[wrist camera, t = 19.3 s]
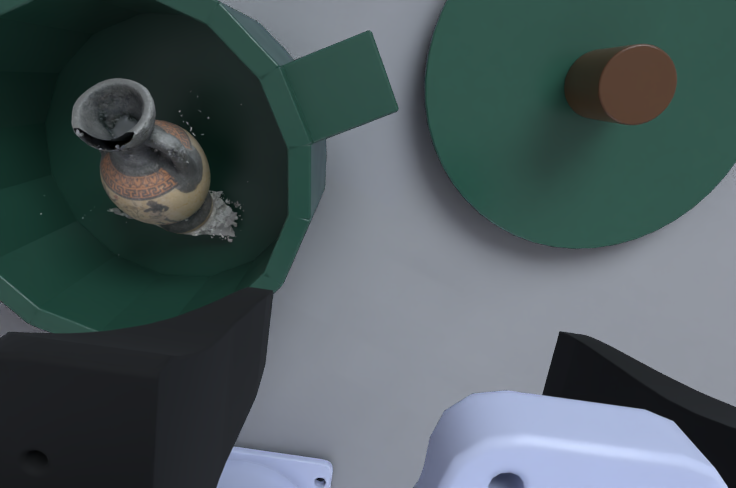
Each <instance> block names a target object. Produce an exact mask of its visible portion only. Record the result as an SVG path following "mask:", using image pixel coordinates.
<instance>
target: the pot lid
mask: <svg viewBox="0 0 736 488" xmlns="http://www.w3.org/2000/svg"><path fill="white" fill-rule="evenodd" d="M424 104H425V111H426V119H427V125H428V129H429V133H430V136H431V140H432V144H433V146H434V149H435V151H436V154H437V156H438V158H439V161H440V163H441V165H442V167H443V169H444V170H445V172H446V174H447V175H448V177H449V179H450V181H451V182H452V183H453V185H454V186H455V187H456V188H457V190H458V191H459V192H460V194H461V195H462V196H463V197H464V199H465V200H466V201H467V202H468V203H469V204H470V205H471V206H472V207H473V208H474V209H475V210H477V211H478V212H479V213H480V214H481V215H482V216H484V217H485V218H486V219H488V220H489V221H491V222H492V223H493V224H495V225H496V226H498V227H500V228H501V229H503V230H505V231H507V232H509V233H511V234H513V235H515V236H517V237H520V238H523V239H525V240H528V241H531V242H534V243H538V244H543V245H547V246H551V247H560V248H571V249H581V248H598V247H604V246H611V245H616V244H620V243H623V242H627V241H630V240H634V239H637V238H639V237H642V236H644V235H647V234H649V233H652V232H654V231H656V230H658V229H660V228H662V227H664V226H665V225H667V224H669V223H671V222H673V221H675V220H676V219H678V218H679V217H680V216H682V215H683V214H685V213H686V212H688V211H689V210H690V209H692V208H693V207H694V206H696V205H697V204H698V203H699V202H700V201H701V200H702V199H703V198H705V197H706V196H707V195H708V194H709V193H710V192H711V191H712V190H713V189H714V188H715V187H716V186H717V185H718V184H719V182H720V181H721V180H722V179H723V178H724V177H725V176H726V175H727V173H728V172H729V171H730V169H731V168H732V166H733V165H734V164H735V162H736V0H446V2H445V4H444V6H443V8H442V10H441V12H440V15H439V18H438V20H437V23H436V25H435V28H434V31H433V33H432V37H431V42H430V46H429V50H428V54H427V59H426V68H425V76H424Z"/></svg>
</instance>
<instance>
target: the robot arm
mask: <svg viewBox="0 0 736 488" xmlns="http://www.w3.org/2000/svg"><path fill="white" fill-rule="evenodd" d="M272 299H273V290H267V289H260V288H253V287H246V288H243V289H241V290H238V291H236V292H234V293H232V294H230V295H228V296H225V297H223V298H221V299H219V300H217V301H214V302H212V303H210V304H208V305H205V306H203V307H200V308H198V309H195V310H192V311H190V312H187V313H185V314H182V315H179V316H176V317H173V318H169V319H166V320H162V321H158V322H154V323H150V324H146V325H141V326H134V327H128V328H122V329H116V330H109V331H98V332H85V333H21V332H8V333H7V334H5V335H4V336H2V337H1V338H0V488H330V485H331V479H332V473H333V466H332V464H331V463H330V462H329V461H327V460H324V459H318V458H311V457H304V456H297V455H290V454H283V453H276V452H269V451H262V450H255V449H248V448H241V447H234V444H235V442H236V440H237V438H238V435H239V433H240V431H241V429H242V427H243V424H244V422H245V420H246V418H247V416H248V413H249V411H250V409H251V407H252V405H253V402H254V400H255V398H256V395H257V392H258V388H259V385H260V382H261V378H262V374H263V371H264V367H265V362H266V353H267V344H268V335H269V326H270V317H271V308H272ZM317 478H323V479H324V481H318V480H317ZM413 488H736V407H734V406H732V405H729V404H727V403H724V402H722V401H720V400H717V399H715V398H712V397H710V396H707V395H705V394H703V393H701V392H699V391H696V390H694V389H692V388H690V387H688V386H686V385H684V384H682V383H680V382H678V381H676V380H674V379H672V378H670V377H668V376H666V375H664V374H662V373H660V372H658V371H656V370H654V369H652V368H650V367H648V366H647V365H645V364H643V363H641V362H639V361H637V360H635V359H634V358H632V357H630V356H628V355H626V354H624V353H623V352H621V351H619V350H617V349H615V348H613V347H611V346H609V345H607V344H605V343H603V342H601V341H599V340H597V339H594V338H592V337H589V336H586V335H581V334H574V333H567V332H559V336H558V339H557V343H556V347H555V350H554V354H553V358H552V361H551V365H550V369H549V372H548V376H547V380H546V383H545V387H544V391H543V394H542V395H537V394H530V393H523V392H516V391H508V390H503V391H492V392H482V393H472V394H471V395H469V396H467V397H466V398H464V399H463V400H461V401H459V402H458V403H456V404H454V405H453V406H451V407H450V408H448V409H446V410H445V411H444V412H443V414H442V416H441V418H440V420H439V422H438V423H437V425H436V427H435V429H434V431H433V433H432V434H431V436H430V440H429V444H428V449H427V454H426V458H425V463H424V468H423V470H422V473H421V475H420V478H419V481H418V482H417V483H416V485H415V486H414V487H413Z"/></svg>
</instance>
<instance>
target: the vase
mask: <svg viewBox="0 0 736 488" xmlns="http://www.w3.org/2000/svg"><path fill="white" fill-rule="evenodd" d="M190 92H191V91H190ZM197 97H198V96H197ZM241 105H242V104H241ZM179 112H180V111H179ZM181 116H182V115H181ZM155 117H156V110H155V104H154V101H153V98H152V97H151V94H150V92H149V91H148V89H147V88H145V87H144V86H143V85H141V84H140V83H138V82H135V81H132V80H129V79H122V78H114V79H108V80H105V81H102V82H100V83H98V84H96V85H94V86H92V87H91V88H89V89H88V90H87V91H85V92H84V93H83V94H82V95H81V96H80V97H79V98H78V99H77V101H76V102H75V104H74V106H73V110H72V121H71V123H72V127H73V130H74V133H75V134H76V135H77V136H78V137H79V138H80V139H81V140H82V141H84V142H85V143H86V144H88V145H89V146H91V147H93V148H95V149H98V150H99V151H100V153H101V159H100V166H99V167H100V176H101V181H102V184H103V187H104V189H105V191H106V193H107V195H108V196H109V198H110V199H111V200H112V201H113V203H114V204H115V205H116V206H117V207H118V208H112V209H110V211H111V212H114V213H115V214H118V215H121V216H126V217H127V218H129V219H135V220H139V221H141V222H144V223H149V224H154V225H157V226H159V227H161V228H163V229H165V230H166V231H169V232H173V233H177V234H187V235H193V236H197V235H201V234H204V235H206V234H209V235H213V236H215V235H221V236H222V238H224V236H227V235H229V236H232V237H236V236H235V234H234V233H235V232H234V231H233V229H232V227H231V225H234V226H235V227H237V223H236V222H234V220H237V219H238V217H237V212H232V209H231V208H232V207H229V206H227V205H226V204H225V202H226V203H227V204H230V200H229V201H228V200H227V199H228V198H227V199H226V201H225V202H224V201H223V200H222V199H221V198H222V197H221V198H219V197H220V196H221V194H222V192H223V191H219V192H214V191H209V187H210V168H209V164H208V161H207V158H206V155H205V153H204V151H203V149H202V147H201V146H200V144H199V143H198V142H197V140H196V139H195V138H194V137H193V136H192V135H191V134H190V133H189V132H188V131H186V130H185V129H183V128H181V127H180V126H178V125H176V124H173V123H170V122H167V121H162V120H156V119H155ZM208 119H209V117H208ZM183 122H184V121H183ZM186 123H187V122H186ZM187 124H188V123H187ZM191 130H192V127H191ZM191 130H190V131H191ZM193 134H194V133H193ZM201 135H202V134H201ZM203 135H204V134H203ZM194 136H195V135H194ZM247 182H248V181H247ZM210 192H212V193H210ZM223 194H224V193H223ZM44 196H45V195H44ZM223 199H224V198H223ZM231 203H233V202H231ZM234 205H235V207H236V208H237V207H238V206H240V205H241V204H238V201H237V204H236V203H234ZM119 209H120V210H122V211H123V212H124V213H123V212H122V213H121V211H120V210H119ZM240 209H241V206H240ZM107 211H109V210H107ZM243 211H244V210H243ZM84 216H85V215H84ZM239 216H241V215H239ZM82 218H83V217H82ZM241 220H242V219H241ZM126 223H127V222H126ZM240 231H241V230H240ZM229 236H227V238H228V241H229V242H232V240H233V239H229ZM211 238H213V237H211ZM219 238H221V237H219ZM225 239H226V237H225ZM222 240H223V239H222ZM118 255H119V254H118Z"/></svg>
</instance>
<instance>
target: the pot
mask: <svg viewBox="0 0 736 488" xmlns="http://www.w3.org/2000/svg"><path fill="white" fill-rule="evenodd" d="M114 78H122V79H129V80H132V81H135V82H138V83H140V84H141V85H143V86H144V87H145V88H147V89H148V91H149V92H150V94H151V97H152V98H153V101H154V104H155V110H156V117H155V119H156V120H162V121H167V122H170V123H173V124H176V125H178V126H180V127H181V128H183V129H185V130H186V131H188V132H189V133H190V134H191V135H192V136H193V137H194V138H195V139H196V140H197V142H198V143H199V144H200V146H201V147H202V149H203V151H204V153H205V155H206V158H207V161H208V164H209V168H210V187H209V191H214V192H219V191H223V192H222V194H221V196H220V197H219V198H221V197H222V198H221V199H222V200H223V201H224V202H225V201H226V199H227V198H228V199H227V200H228V201H229V200H230V204H227V203H226V202H225V204H226V205H227V206H229V207H232V208H231V209H232V212H237V217H238V219H237V220H234V222H236V223H237V227H235V226H234V225H231V227H232V229H233V231H234V232H235V233H234V234H235V236H236V237H232V236H229V235H227V236H229V239H233V240H232V242H229V241H228V238H227V236H224V238H222V236H221V235H215V236H213V235H209V234H206V235H204V234H201V235H197V236H193V235H187V234H177V233H173V232H169V231H166V230H165V229H163V228H161V227H159V226H157V225H154V224H149V223H144V222H141V221H139V220H135V219H129V218H127V217H126V216H121V215H118V214H115V213H114V212H111V211H110V209H112V208H118V207H117V206H116V205H115V204H114V203H113V201H112V200H111V199H110V198H109V196H108V195H107V193H106V191H105V189H104V187H103V184H102V181H101V176H100V167H99V166H100V159H101V153H100V151H99V150H98V149H95V148H93V147H91V146H89V145H88V144H86V143H85V142H84V141H82V140H81V139H80V138H79V137H78V136H77V135H76V134H75V133H74V130H73V127H72V123H71V121H72V110H73V106H74V104H75V102H76V101H77V99H78V98H79V97H80V96H81V95H82V94H83V93H84V92H85V91H87V90H88V89H89V88H91V87H92V86H94V85H96V84H98V83H100V82H102V81H105V80H108V79H114ZM190 91H191V92H190ZM197 96H198V97H197ZM241 104H242V105H241ZM179 111H180V112H179ZM397 111H398V105H397V103H396V100H395V97H394V94H393V91H392V88H391V85H390V83H389V80H388V77H387V74H386V71H385V68H384V65H383V63H382V60H381V57H380V54H379V51H378V48H377V46H376V43H375V40H374V37H373V34H372V32H371V31H366V32H363V33H361V34H358V35H356V36H353V37H351V38H348V39H346V40H343V41H341V42H338V43H336V44H333V45H331V46H328V47H326V48H323V49H321V50H318V51H316V52H313V53H311V54H309V55H306V56H304V57H301V58H299V59H296V60H293V58H292V57H291V56H290V55H289V54H288V52H287V51H286V50H285V49H284V48H283V46H281V45H280V44H279V43H278V42H277V41H276V40H275V39H274V38H273V37H272V36H271V35H270V34H269V32H268V31H267V30H266V29H265V28H264V27H263V26H262V25H261V24H260V23H258V22H257V21H256V20H254V19H252V18H250V17H248V16H246V15H244V14H242V13H241V12H239V11H237V10H235V9H233V8H231V7H229V6H227V5H225V4H223V3H221V2H220V1H218V0H0V301H1V302H3V303H4V304H5V305H6V306H7V307H9V308H10V309H11V310H12V311H13V312H15V313H16V314H17V315H18V316H19V317H21V318H22V319H23V320H24V321H25V322H27V323H28V324H29V323H30V325H32V326H35V327H37V328H40V329H43V330H45V331H48V332H50V333H85V332H98V331H109V330H116V329H122V328H128V327H134V326H141V325H146V324H150V323H154V322H158V321H162V320H166V319H169V318H173V317H176V316H179V315H182V314H185V313H187V312H190V311H192V310H195V309H198V308H200V307H203V306H205V305H208V304H210V303H212V302H214V301H217V300H219V299H221V298H223V297H225V296H228V295H230V294H232V293H234V292H236V291H238V290H241V289H243V288H246V287H253V288H260V289H267V290H273V294H274V293H275V292H276V291H277V290H278V289H279V288H280V287H281V286H282V284H283V283H284V281H285V279H286V277H287V274H288V272H289V270H290V268H291V265H292V263H293V261H294V258H295V256H296V254H297V251H298V249H299V247H300V245H301V242H302V240H303V238H304V235H305V233H306V231H307V229H308V226H309V224H310V222H311V219H312V217H313V215H314V212H315V210H316V208H317V206H318V203H319V201H320V199H321V196H322V194H323V192H324V189H325V177H326V158H327V155H326V139H327V138H330V137H332V136H335V135H337V134H340V133H343V132H345V131H348V130H350V129H353V128H356V127H358V126H361V125H363V124H366V123H369V122H371V121H374V120H376V119H379V118H382V117H384V116H387V115H390V114H392V113H395V112H397ZM181 115H182V116H181ZM208 117H209V119H208ZM183 121H184V122H183ZM186 122H187V123H188V124H187V123H186ZM191 127H192V130H191ZM190 130H191V131H190ZM193 133H194V134H193ZM201 134H202V135H201ZM203 134H204V135H203ZM194 135H195V136H194ZM247 181H248V182H247ZM210 193H212V192H210ZM223 193H224V194H223ZM44 195H45V196H44ZM223 198H224V199H223ZM237 201H238V204H241V205H240V206H241V209H240V206H238V207H237V208H236V207H235V205H234V203H236V204H237ZM231 202H233V203H231ZM107 210H109V211H107ZM119 210H120V209H119ZM243 210H244V211H243ZM120 211H121V213H122V212H123V211H122V210H120ZM123 213H124V212H123ZM84 215H85V216H84ZM239 215H241V216H239ZM82 217H83V218H82ZM241 219H242V220H241ZM126 222H127V223H126ZM240 230H241V231H240ZM211 237H213V238H211ZM219 237H221V238H219ZM225 237H226V239H225ZM222 239H223V240H222ZM118 254H119V255H118Z"/></svg>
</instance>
